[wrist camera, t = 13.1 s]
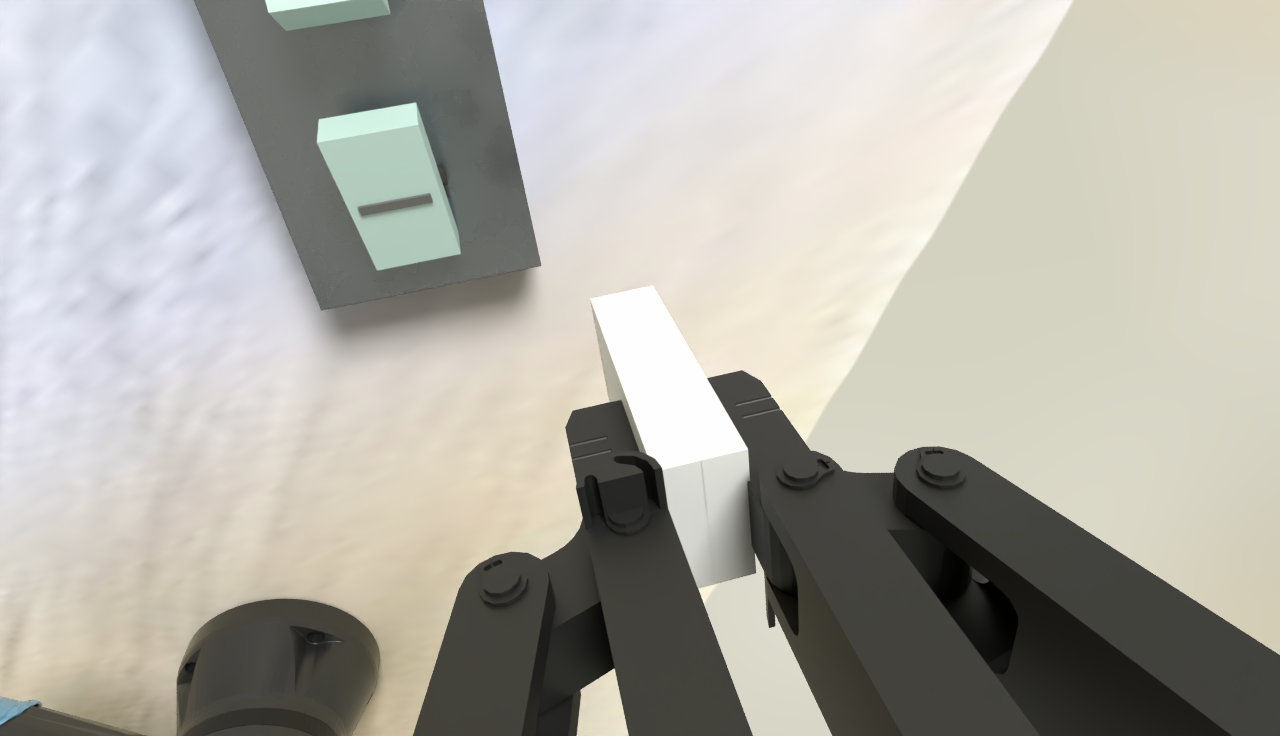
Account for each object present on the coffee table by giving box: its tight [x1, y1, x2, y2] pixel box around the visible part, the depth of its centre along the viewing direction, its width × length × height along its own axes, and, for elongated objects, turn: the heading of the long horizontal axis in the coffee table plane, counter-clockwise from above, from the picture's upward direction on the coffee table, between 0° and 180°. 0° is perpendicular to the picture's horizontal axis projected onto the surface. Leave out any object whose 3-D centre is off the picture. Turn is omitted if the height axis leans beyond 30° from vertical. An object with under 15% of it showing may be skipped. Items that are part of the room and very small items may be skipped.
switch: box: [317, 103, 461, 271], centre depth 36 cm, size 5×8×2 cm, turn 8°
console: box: [194, 0, 541, 310], centre depth 36 cm, size 13×25×6 cm, turn 8°
